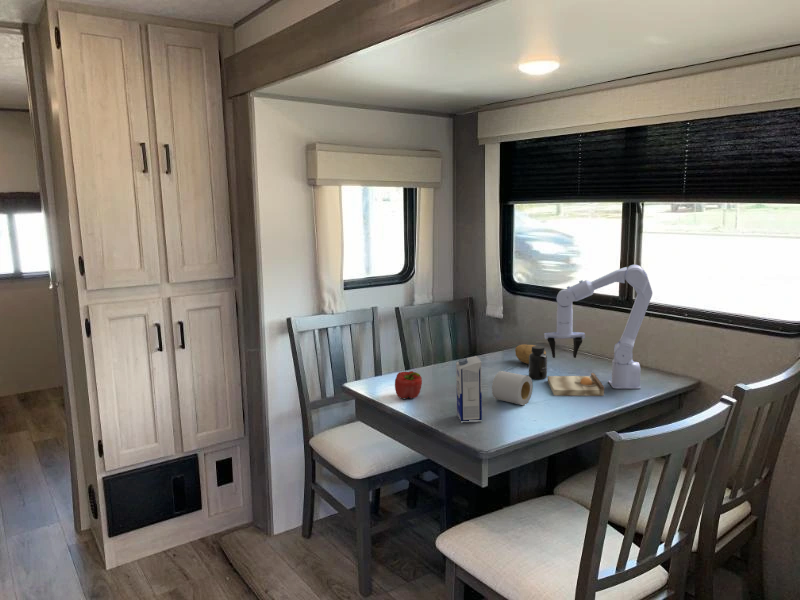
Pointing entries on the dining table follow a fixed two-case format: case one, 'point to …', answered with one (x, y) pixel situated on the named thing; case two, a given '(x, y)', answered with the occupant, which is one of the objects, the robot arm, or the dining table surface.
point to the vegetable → (408, 384)
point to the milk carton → (469, 389)
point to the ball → (586, 381)
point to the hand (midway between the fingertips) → (564, 357)
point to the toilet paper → (512, 387)
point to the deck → (575, 386)
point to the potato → (524, 352)
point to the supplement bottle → (538, 363)
